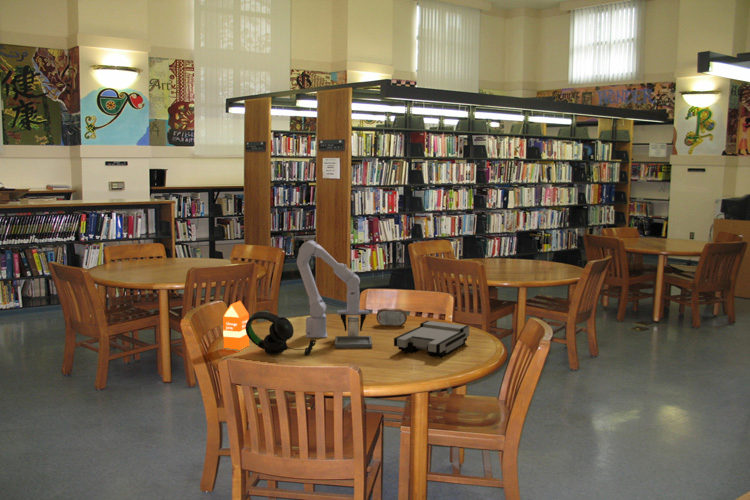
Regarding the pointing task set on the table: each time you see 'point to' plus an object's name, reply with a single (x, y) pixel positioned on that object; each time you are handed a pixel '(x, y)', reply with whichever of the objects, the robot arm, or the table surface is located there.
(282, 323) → the headset
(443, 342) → the game console
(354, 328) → the cylinder
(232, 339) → the orange juice
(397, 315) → the tin
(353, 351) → the table surface
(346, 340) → the tray
